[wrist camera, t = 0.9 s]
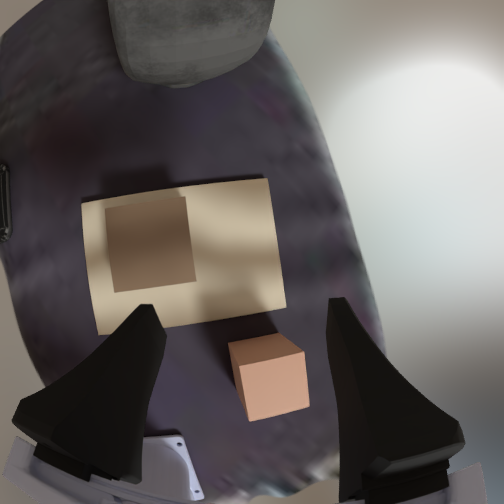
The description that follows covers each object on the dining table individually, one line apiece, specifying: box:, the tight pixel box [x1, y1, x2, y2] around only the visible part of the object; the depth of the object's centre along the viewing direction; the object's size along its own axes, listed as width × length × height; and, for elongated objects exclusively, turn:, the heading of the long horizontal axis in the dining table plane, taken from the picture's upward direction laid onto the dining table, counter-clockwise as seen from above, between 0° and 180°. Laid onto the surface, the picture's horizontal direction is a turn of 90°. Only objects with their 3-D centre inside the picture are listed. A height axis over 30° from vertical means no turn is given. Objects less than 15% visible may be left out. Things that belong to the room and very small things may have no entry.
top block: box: [228, 333, 309, 422], centre depth 21 cm, size 4×4×6 cm
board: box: [82, 178, 286, 335], centre depth 23 cm, size 11×16×1 cm
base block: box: [105, 196, 197, 293], centre depth 21 cm, size 6×6×3 cm
